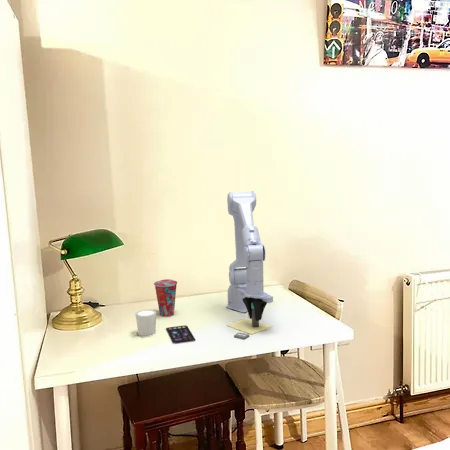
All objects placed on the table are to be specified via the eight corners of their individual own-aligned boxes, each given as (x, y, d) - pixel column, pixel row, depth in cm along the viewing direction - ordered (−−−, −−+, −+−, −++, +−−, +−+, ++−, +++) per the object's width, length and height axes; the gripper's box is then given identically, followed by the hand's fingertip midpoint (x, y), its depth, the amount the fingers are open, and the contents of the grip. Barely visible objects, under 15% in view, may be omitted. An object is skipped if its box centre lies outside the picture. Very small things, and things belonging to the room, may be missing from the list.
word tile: (233, 337, 162) (233, 335, 162) (238, 334, 165) (238, 332, 165) (244, 339, 160) (244, 337, 160) (249, 336, 163) (249, 334, 162)
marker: (250, 326, 171) (249, 303, 170) (255, 324, 173) (255, 301, 171) (255, 327, 169) (255, 304, 168) (260, 325, 171) (260, 303, 169)
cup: (181, 315, 184) (180, 283, 182) (159, 319, 180) (158, 287, 179) (173, 308, 192) (171, 278, 190) (151, 312, 189) (150, 281, 187)
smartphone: (186, 324, 174) (196, 340, 160) (186, 326, 174) (196, 342, 160) (165, 327, 172) (172, 343, 158) (165, 329, 172) (172, 345, 158)
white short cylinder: (134, 331, 169) (133, 311, 168) (154, 328, 172) (153, 308, 171) (139, 338, 163) (138, 317, 162) (159, 334, 166) (158, 314, 165)
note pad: (226, 325, 173) (226, 324, 173) (247, 318, 179) (247, 317, 179) (251, 334, 164) (251, 333, 164) (272, 326, 171) (272, 326, 171)
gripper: (231, 278, 171) (232, 316, 173) (262, 286, 160) (262, 327, 162) (245, 274, 176) (246, 312, 178) (277, 282, 165) (277, 321, 167)
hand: (255, 319), depth 170 cm, fingers closed on marker, 2 cm apart
